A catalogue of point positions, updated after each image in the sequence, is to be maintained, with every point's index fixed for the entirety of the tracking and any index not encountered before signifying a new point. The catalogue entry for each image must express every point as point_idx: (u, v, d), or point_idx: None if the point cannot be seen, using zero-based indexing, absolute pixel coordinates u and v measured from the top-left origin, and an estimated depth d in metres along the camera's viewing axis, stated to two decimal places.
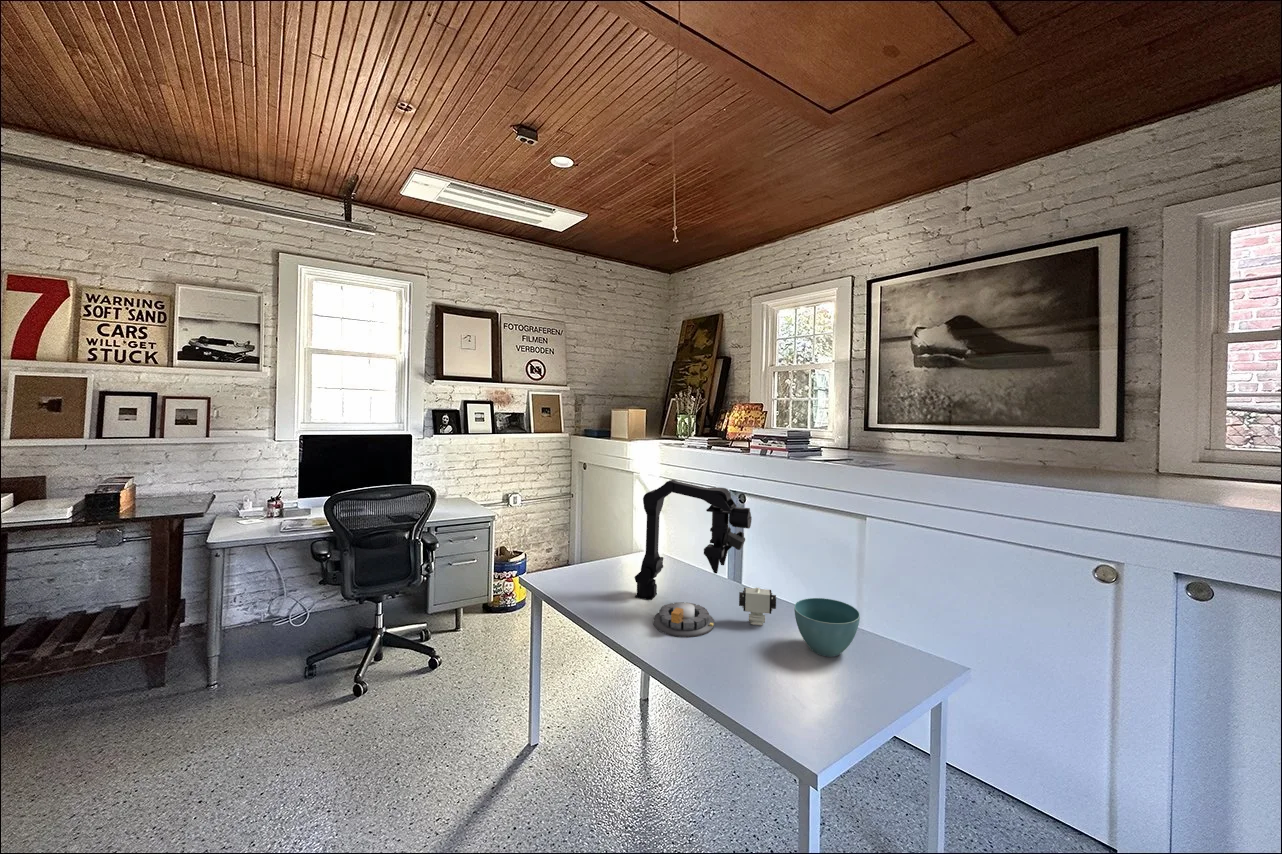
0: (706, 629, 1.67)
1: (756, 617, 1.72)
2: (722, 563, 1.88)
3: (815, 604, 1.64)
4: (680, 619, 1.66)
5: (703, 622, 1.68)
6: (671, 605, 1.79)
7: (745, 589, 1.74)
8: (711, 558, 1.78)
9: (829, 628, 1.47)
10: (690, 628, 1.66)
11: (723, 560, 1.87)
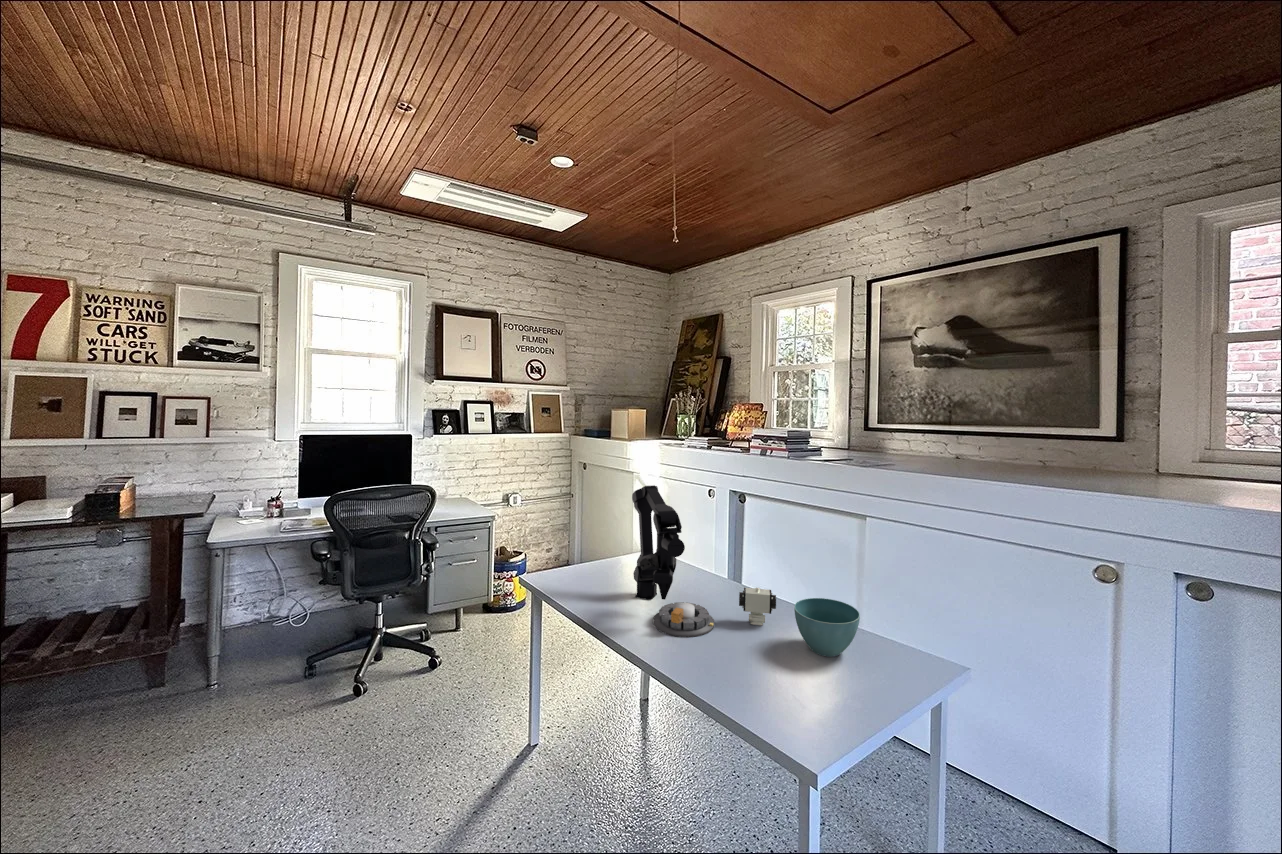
0: (706, 629, 1.67)
1: (756, 617, 1.72)
2: None
3: (815, 604, 1.64)
4: (680, 619, 1.66)
5: (703, 622, 1.68)
6: (671, 605, 1.79)
7: (745, 589, 1.74)
8: None
9: (829, 628, 1.47)
10: (690, 628, 1.66)
11: None
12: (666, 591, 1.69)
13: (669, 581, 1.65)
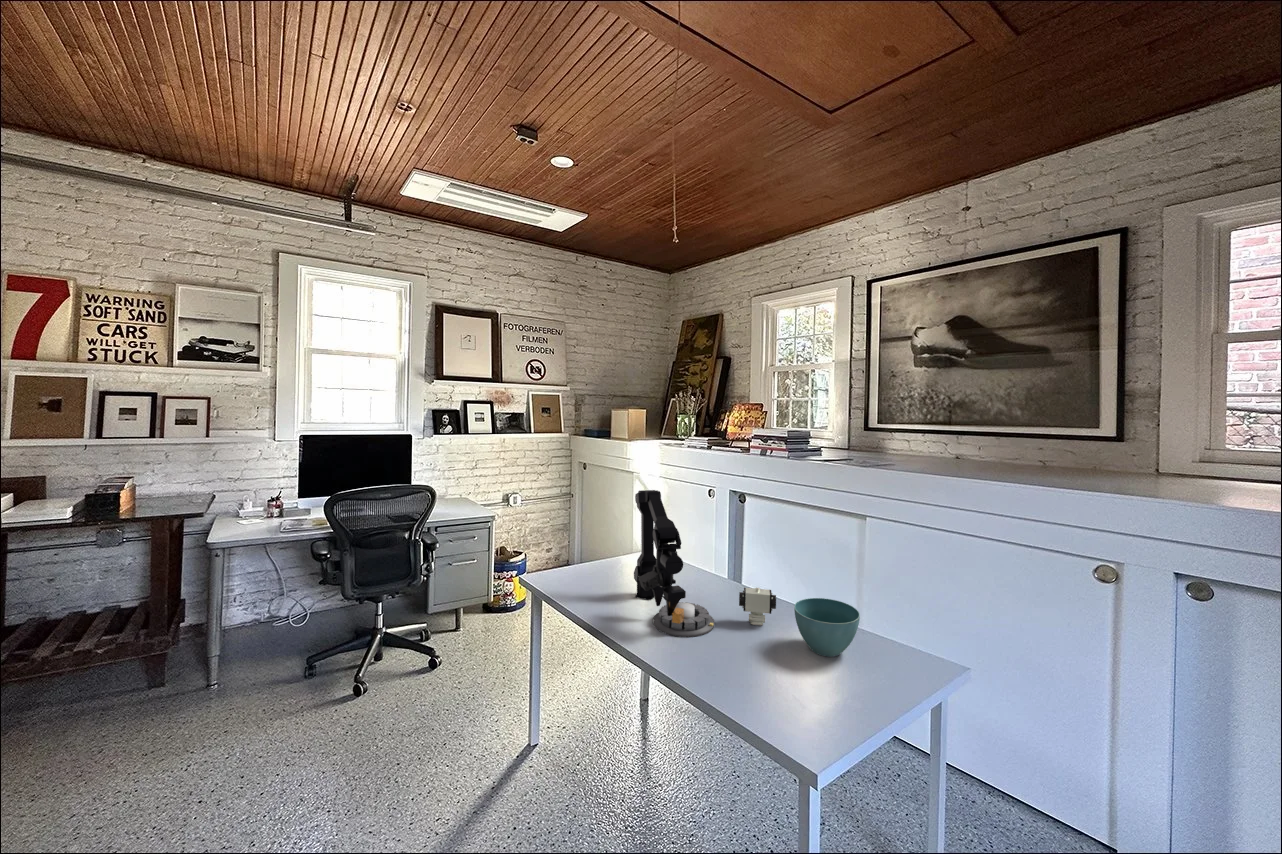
0: (706, 629, 1.67)
1: (756, 617, 1.72)
2: None
3: (815, 604, 1.64)
4: (681, 619, 1.66)
5: (704, 622, 1.68)
6: None
7: (745, 589, 1.74)
8: None
9: (829, 628, 1.47)
10: (691, 628, 1.66)
11: None
12: (674, 607, 1.67)
13: (684, 596, 1.64)
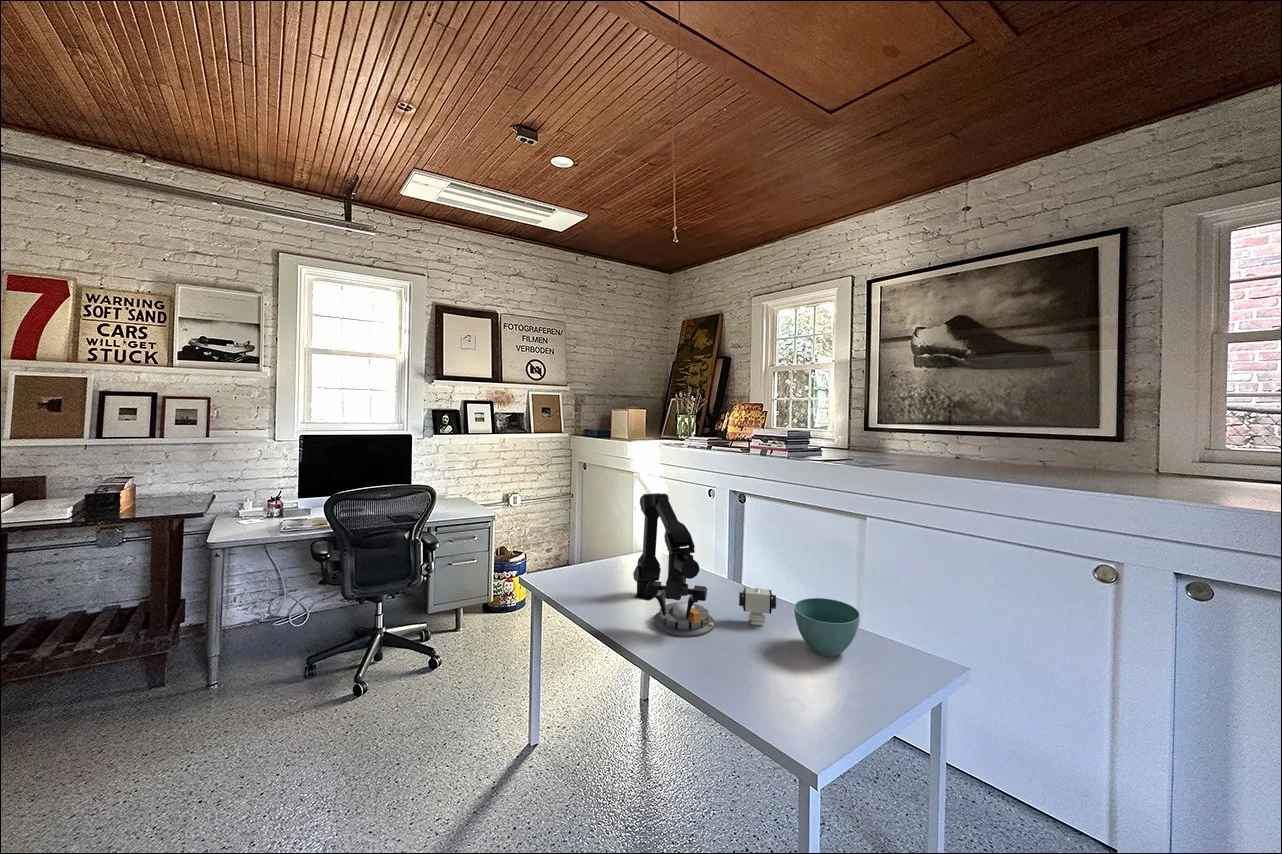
0: (706, 629, 1.67)
1: (756, 617, 1.72)
2: (686, 616, 1.66)
3: (815, 604, 1.64)
4: None
5: None
6: None
7: (745, 589, 1.74)
8: None
9: (829, 628, 1.47)
10: (706, 623, 1.69)
11: (686, 613, 1.65)
12: None
13: None
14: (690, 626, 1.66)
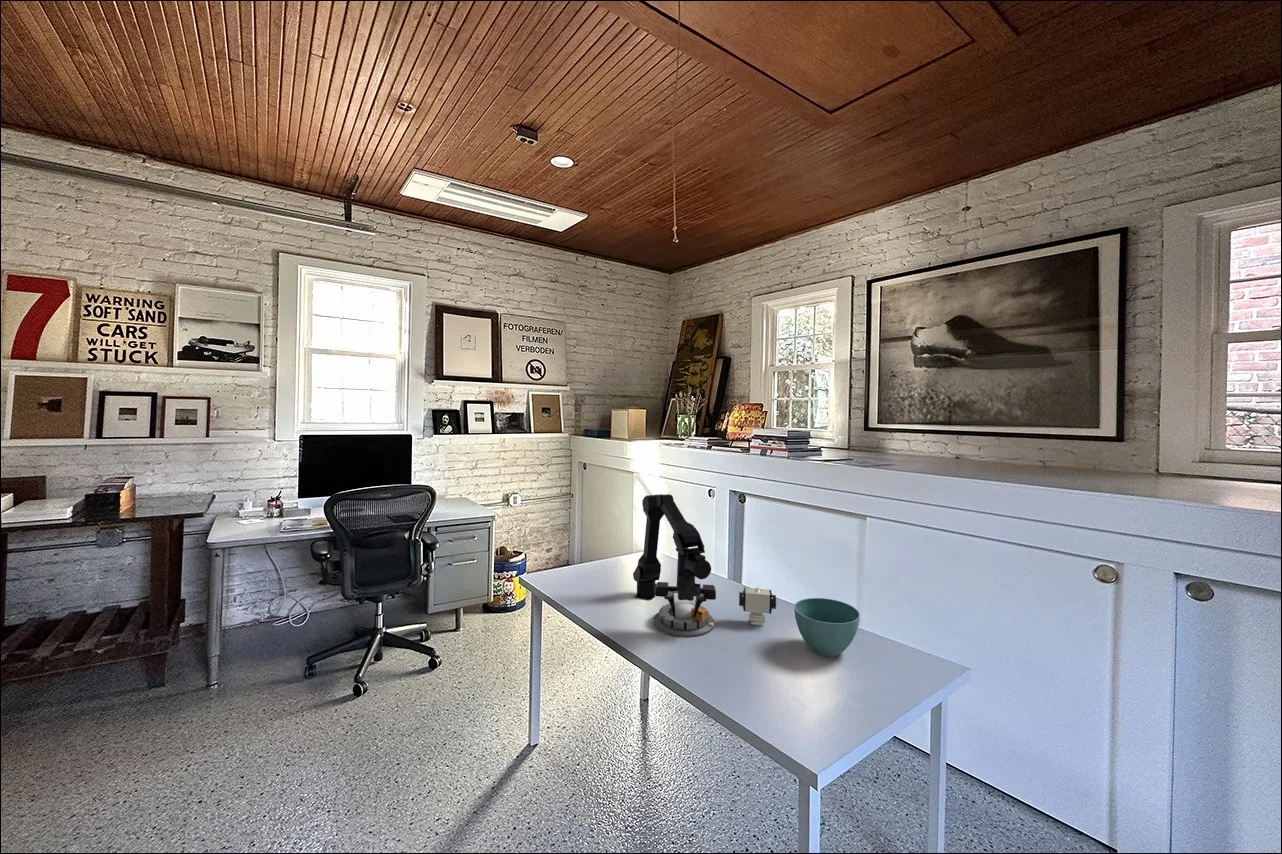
0: (706, 629, 1.67)
1: (756, 617, 1.72)
2: None
3: (815, 604, 1.64)
4: None
5: None
6: (664, 613, 1.72)
7: (745, 589, 1.74)
8: None
9: (829, 628, 1.47)
10: (708, 620, 1.72)
11: None
12: None
13: None
14: (697, 625, 1.67)
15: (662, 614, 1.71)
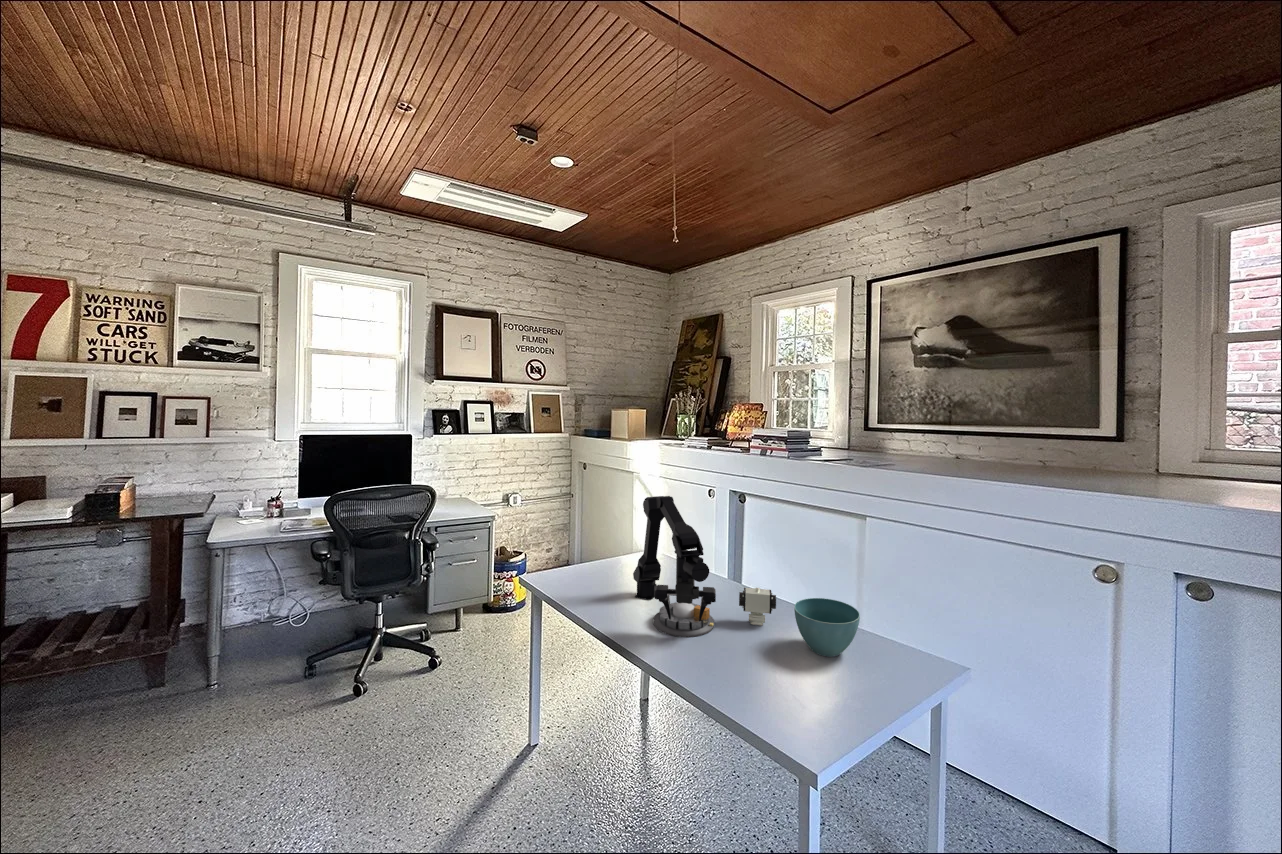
0: (706, 629, 1.67)
1: (756, 617, 1.72)
2: (699, 618, 1.64)
3: (815, 604, 1.64)
4: None
5: None
6: (666, 615, 1.71)
7: (745, 589, 1.74)
8: None
9: (829, 628, 1.47)
10: None
11: (699, 615, 1.64)
12: None
13: None
14: (701, 623, 1.68)
15: (664, 616, 1.70)
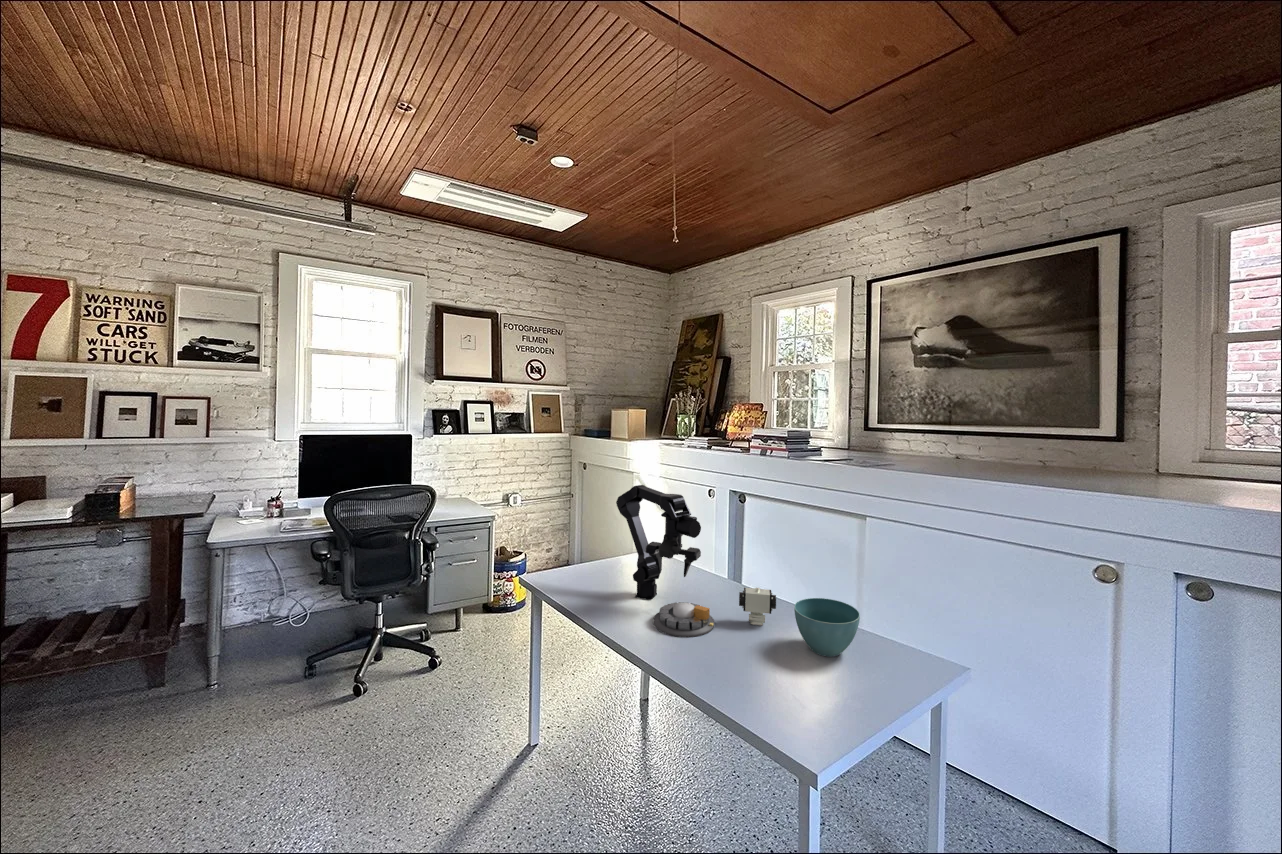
0: (706, 629, 1.67)
1: (756, 617, 1.72)
2: None
3: (815, 604, 1.64)
4: None
5: None
6: (666, 615, 1.71)
7: (745, 589, 1.74)
8: None
9: (829, 628, 1.47)
10: None
11: None
12: (688, 567, 1.83)
13: (700, 555, 1.83)
14: (701, 623, 1.68)
15: (664, 616, 1.70)
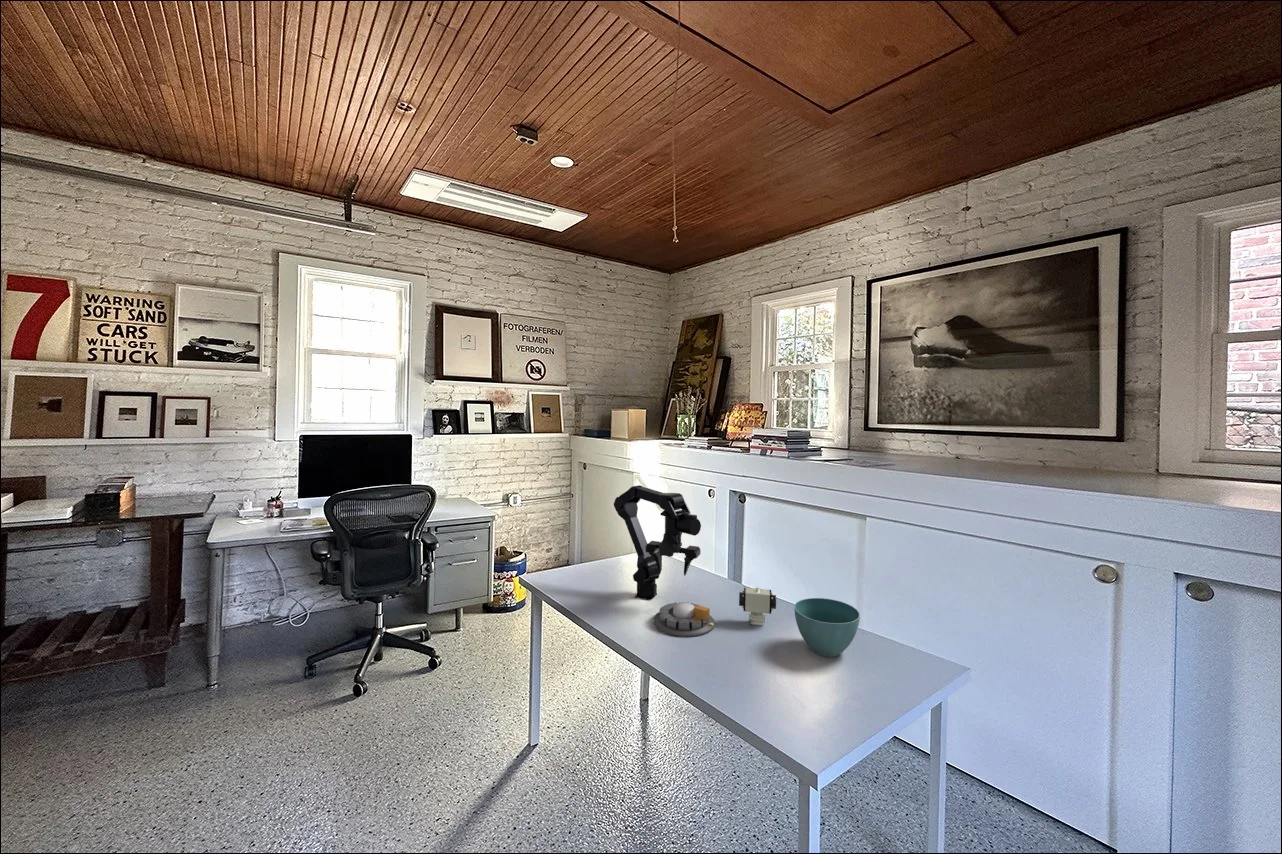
0: (706, 629, 1.67)
1: (756, 617, 1.72)
2: None
3: (815, 604, 1.64)
4: None
5: None
6: (666, 615, 1.71)
7: (745, 589, 1.74)
8: None
9: (829, 628, 1.47)
10: None
11: None
12: None
13: None
14: (701, 623, 1.68)
15: (664, 616, 1.70)
